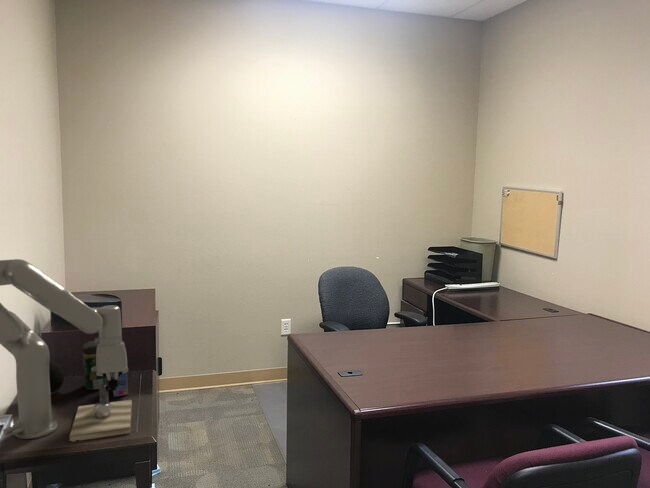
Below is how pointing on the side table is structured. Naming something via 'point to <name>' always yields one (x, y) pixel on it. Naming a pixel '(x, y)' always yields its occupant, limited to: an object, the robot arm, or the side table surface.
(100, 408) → the crank dial
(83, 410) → the birch stand
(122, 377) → the ink cartridge box
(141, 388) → the side table surface
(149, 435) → the side table surface
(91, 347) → the coffee jar
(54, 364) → the black half-round shape
